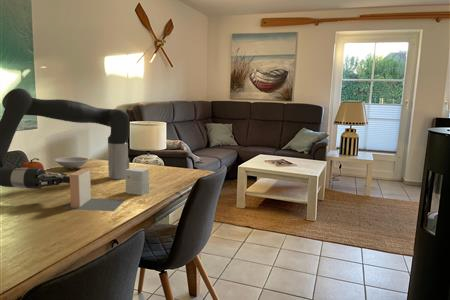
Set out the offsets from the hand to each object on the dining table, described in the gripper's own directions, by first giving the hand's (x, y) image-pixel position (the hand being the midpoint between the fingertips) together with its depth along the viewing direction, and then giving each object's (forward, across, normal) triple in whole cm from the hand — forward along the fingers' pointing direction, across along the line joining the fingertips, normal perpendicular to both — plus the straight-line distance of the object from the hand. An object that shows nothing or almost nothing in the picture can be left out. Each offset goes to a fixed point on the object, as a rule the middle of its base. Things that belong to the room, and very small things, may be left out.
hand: (74, 179), depth 127 cm
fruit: (-36, +34, +10) cm, 51 cm away
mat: (+7, 0, +10) cm, 12 cm away
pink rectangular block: (+2, 0, +9) cm, 9 cm away
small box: (+18, +17, +10) cm, 27 cm away
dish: (-29, +58, +10) cm, 66 cm away
